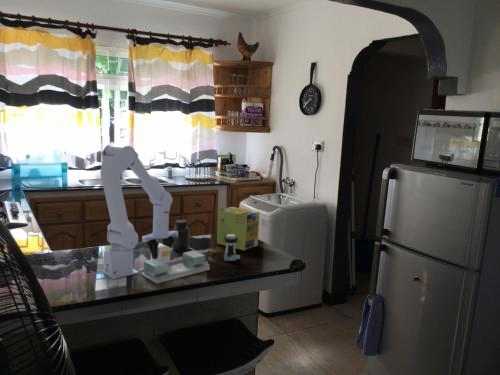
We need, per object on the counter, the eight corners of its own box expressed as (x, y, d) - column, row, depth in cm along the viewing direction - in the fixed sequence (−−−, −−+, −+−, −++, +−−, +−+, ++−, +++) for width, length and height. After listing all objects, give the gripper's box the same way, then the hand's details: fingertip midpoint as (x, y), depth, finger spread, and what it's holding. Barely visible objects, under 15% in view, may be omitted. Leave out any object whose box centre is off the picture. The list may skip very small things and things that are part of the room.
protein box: (245, 251, 176) (247, 215, 174) (216, 243, 185) (217, 209, 182) (258, 245, 185) (260, 211, 183) (230, 239, 193) (231, 206, 191)
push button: (238, 257, 167) (239, 233, 166) (241, 261, 162) (242, 236, 161) (222, 258, 166) (223, 233, 164) (224, 262, 160) (225, 237, 159)
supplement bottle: (182, 245, 179) (183, 218, 177) (192, 249, 174) (192, 221, 172) (169, 248, 175) (169, 220, 173) (178, 252, 170) (178, 223, 168)
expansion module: (161, 265, 154) (161, 249, 153) (150, 259, 159) (150, 244, 159) (170, 262, 157) (170, 247, 156) (159, 257, 162) (159, 242, 161)
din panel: (156, 283, 136) (157, 269, 136) (139, 274, 144) (139, 260, 143) (209, 269, 152) (209, 256, 151) (191, 261, 159) (191, 249, 159)
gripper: (149, 227, 148) (148, 264, 150) (183, 222, 158) (182, 256, 160) (139, 223, 153) (138, 258, 155) (172, 218, 163) (171, 251, 165)
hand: (160, 257), depth 158 cm, fingers open, 4 cm apart
